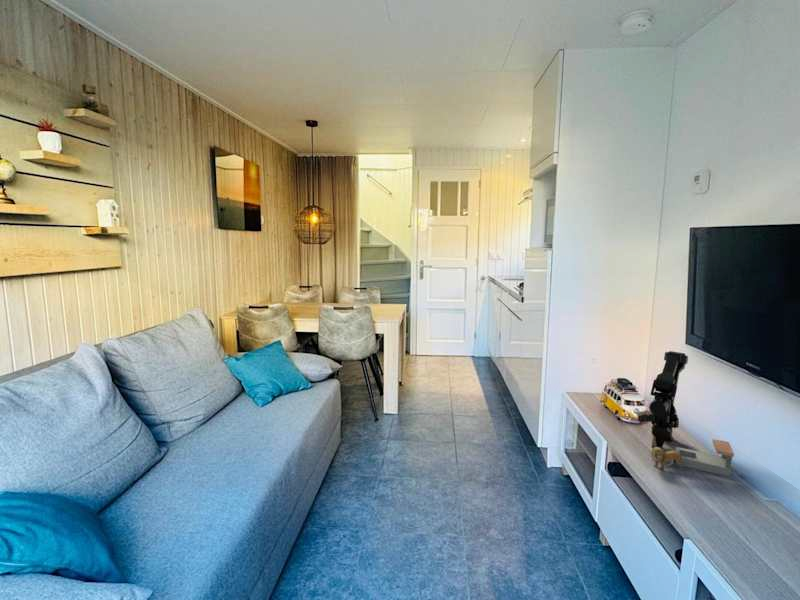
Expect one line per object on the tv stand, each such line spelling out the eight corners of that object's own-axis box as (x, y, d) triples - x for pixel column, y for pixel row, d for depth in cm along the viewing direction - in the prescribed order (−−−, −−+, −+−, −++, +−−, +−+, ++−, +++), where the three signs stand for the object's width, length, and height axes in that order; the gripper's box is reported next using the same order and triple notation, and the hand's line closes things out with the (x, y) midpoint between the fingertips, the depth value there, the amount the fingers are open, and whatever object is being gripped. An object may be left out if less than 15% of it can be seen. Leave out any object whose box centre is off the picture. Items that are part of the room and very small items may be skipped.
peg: (651, 445, 181) (653, 430, 180) (662, 448, 179) (664, 432, 178) (651, 449, 178) (653, 433, 177) (662, 452, 176) (664, 435, 175)
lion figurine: (657, 474, 158) (660, 451, 157) (645, 467, 163) (647, 445, 162) (687, 469, 163) (690, 446, 161) (674, 462, 168) (677, 440, 166)
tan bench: (709, 460, 169) (712, 438, 168) (725, 464, 167) (728, 442, 166) (714, 473, 160) (717, 450, 158) (730, 477, 157) (734, 454, 156)
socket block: (674, 453, 175) (675, 446, 174) (725, 464, 166) (726, 457, 166) (676, 464, 166) (677, 457, 165) (730, 476, 158) (731, 469, 157)
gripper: (639, 397, 188) (635, 430, 190) (639, 411, 172) (635, 448, 174) (669, 402, 182) (665, 436, 185) (672, 417, 166) (667, 455, 168)
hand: (657, 443), depth 178 cm, fingers open, 9 cm apart
